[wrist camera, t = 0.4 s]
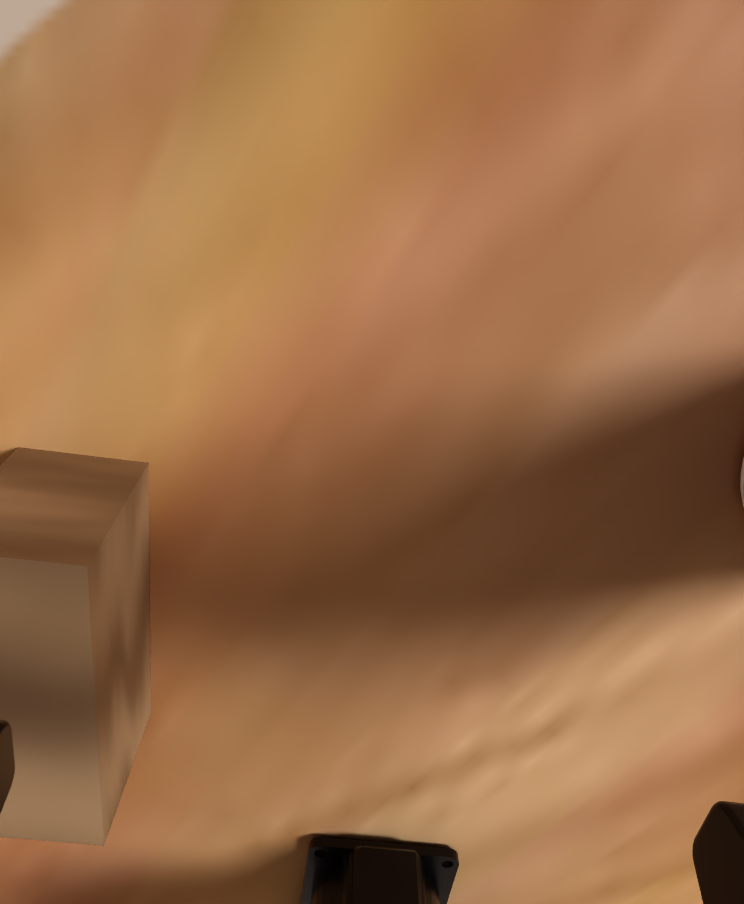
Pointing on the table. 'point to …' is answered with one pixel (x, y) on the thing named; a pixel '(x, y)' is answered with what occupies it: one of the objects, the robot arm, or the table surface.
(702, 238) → the table surface
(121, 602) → the brown rectangular block
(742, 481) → the beverage bottle
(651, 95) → the table surface
